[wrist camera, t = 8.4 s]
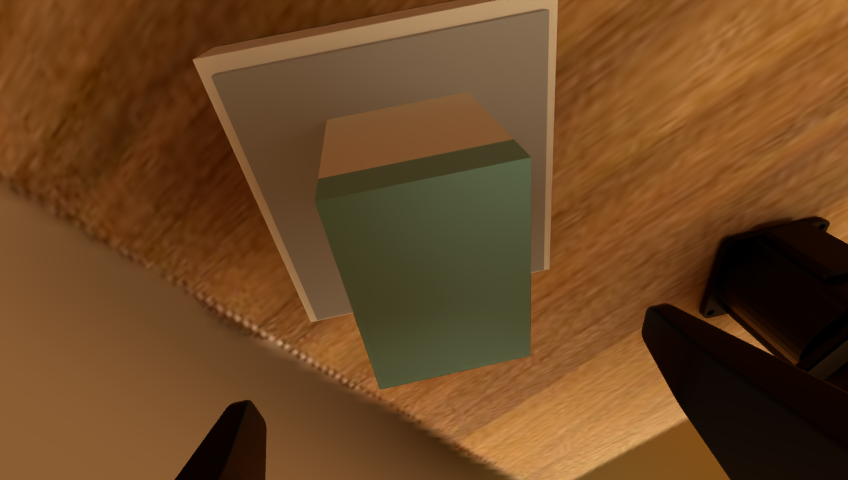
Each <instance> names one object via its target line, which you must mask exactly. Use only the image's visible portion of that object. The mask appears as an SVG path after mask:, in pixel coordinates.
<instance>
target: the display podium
mask: <svg viewBox="0 0 848 480" xmlns="http://www.w3.org/2000/svg"><path fill="white" fill-rule="evenodd" d="M557 9H558V0H455V1H450V2H444V3H439V4H434V5H429V6H424V7H419V8H414V9H408V10H403V11H398V12H393V13H388V14H383V15H378V16H372V17H367V18H362V19H357V20H352V21H347V22H342V23H336V24H331V25H326V26H321V27H316V28H311V29H306V30H300V31H295V32H290V33H285V34H280V35H275V36H269V37H264V38H259V39H254V40H249V41H244V42H239V43H233V44H228V45H223V46H218V47H214V48H212V49H210V50H208V51H207V52H205V53H203V54H201V55H200V56H198V57H196V58H194V59H193V62H194V64H195V67H196V69H197V71H198V73H199V76H200V78H201V80H202V82H203V84H204V87H205V89H206V91H207V93H208V95H209V98H210V100H211V102H212V104H213V107H214V109H215V111H216V113H217V115H218V118H219V120H220V122H221V124H222V126H223V129H224V131H225V133H226V135H227V138H228V140H229V142H230V144H231V146H232V149H233V151H234V153H235V155H236V157H237V160H238V162H239V164H240V166H241V169H242V171H243V173H244V175H245V177H246V180H247V182H248V184H249V186H250V188H251V191H252V193H253V195H254V197H255V200H256V202H257V204H258V206H259V208H260V211H261V213H262V215H263V217H264V219H265V222H266V224H267V226H268V228H269V231H270V233H271V235H272V237H273V239H274V242H275V244H276V246H277V248H278V250H279V253H280V255H281V257H282V259H283V262H284V264H285V266H286V268H287V270H288V273H289V275H290V277H291V279H292V282H293V284H294V286H295V288H296V290H297V293H298V295H299V297H300V299H301V301H302V304H303V306H304V308H305V310H306V313H307V315H308V317H309V319H310V321H311V322H315V321H319V320H324V319H328V318H333V317H337V316H342V315H346V314H351V313H353V311H352V308H351V305H350V302H349V299H348V296H347V293H346V290H345V288H344V285H343V282H342V279H341V276H340V273H339V270H338V267H337V265H336V262H335V259H334V256H333V253H332V250H331V247H330V244H329V242H328V239H327V236H326V233H325V230H324V227H323V224H322V222H321V219H320V216H319V213H318V210H317V207H316V204H315V196H316V189H317V182H318V176H319V169H320V162H321V156H322V149H323V142H324V135H325V129H326V122H327V120H328V119H333V118H338V117H343V116H348V115H353V114H358V113H364V112H369V111H374V110H379V109H384V108H389V107H394V106H399V105H404V104H409V103H414V102H419V101H425V100H430V99H435V98H440V97H445V96H450V95H455V94H460V93H465V92H468V93H469V94H470V95H471V96H472V97H473V98H474V99H475V100H476V101H477V102H478V103H479V104H480V105H481V106H482V107H483V108H484V109H485V110H486V111H487V112H488V113H489V114H490V115H491V116H492V117H493V118H494V119H495V120H496V121H497V122H498V123H499V125H500V126H501V127H502V128H503V129H504V130H505V131H506V132H507V133H508V134H509V135H510V136H511V137H512V138H513V139H514V140H515V141H516V142H517V143H518V144H519V145H520V146H521V147H522V148H523V149H524V150H525V151H526V152H527V153H528V154H529V155H530V156H531V273H534V272H539V271H543V270H548V269H549V266H550V234H551V202H552V170H553V138H554V106H555V73H556V41H557Z"/></svg>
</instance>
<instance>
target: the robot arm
mask: <svg viewBox="0 0 848 480" xmlns="http://www.w3.org/2000/svg"><path fill="white" fill-rule="evenodd" d="M829 224H830V223H829V221H827V220H825V219H823V218H821V217H817V218H813V219H808V220H804V221H799V222H795V223H790V224H786V225H781V226H777V227H772V228H768V229H764V230H759V231H755V232H750V233H746V234H741V235H737V236H732V237H729V238H727V239H726V240H724V242H723V243H722V244H721V247H720V250H719V253H718V256H717V259H716V262H715V265H714V268H713V271H712V274H711V277H710V280H709V283H708V286H707V289H706V292H705V295H704V298H703V301H702V304H701V307H700V310H699V312H700V314H701V315H703V316H704V317H705V318H710V317H715V316H719V315H723V314H729V315H730V316H731V317H732V318H733V319H734V320H735V321H736V322H738V323H739V324H740V325H741V326H742V327H743V328H744V329H745V330H746V331H747V332H749V333H750V334H751V335H752V336H753V337H754V338H755V339H756V340H757V341H758V342H760V343H761V344H762V345H763V346H764V347H765V348H766V349H767V350H768V351H769V352H771V353H772V354H773V355H774V356H773V355H771V354H769V353H767V352H765V351H763V350H761V349H759V348H757V347H755V346H753V345H751V344H749V343H747V342H745V341H743V340H741V339H739V338H737V337H735V336H733V335H731V334H729V333H727V332H725V331H723V330H721V329H719V328H717V327H715V326H713V325H711V324H709V323H707V322H705V321H703V320H701V319H699V318H697V317H695V316H693V315H691V314H689V313H687V312H685V311H683V310H681V309H679V308H677V307H675V306H673V305H670V304H667V303H663V304H658V305H654V306H650V307H649V308H648V309H647V310H646V314H645V319H644V323H643V327H642V337H643V340H644V342H645V344H646V346H647V348H648V350H649V351H650V353H651V355H652V357H653V359H654V360H655V362H656V364H657V366H658V368H659V370H660V371H661V373H662V375H663V377H664V379H665V381H666V382H667V384H668V386H669V388H670V390H671V392H672V393H673V395H674V397H675V398H676V400H677V402H678V403H679V405H680V407H681V408H682V410H683V411H684V413H685V414H686V416H687V417H688V418H689V420H690V421H691V423H692V424H693V426H694V427H695V429H696V430H697V432H698V433H699V435H700V436H701V437H702V439H703V440H704V442H705V443H706V445H707V446H708V448H709V449H710V451H711V452H712V453H713V455H714V456H715V458H716V459H717V461H718V462H719V464H720V465H721V467H722V468H723V470H724V471H725V472H726V474H727V475H728V477H729V478H730V480H848V244H847V243H845V242H843V241H841V240H839V239H837V238H836V237H834V236H832V235H830V234H828V233H827V232H826V231H827V229H828V227H829ZM266 432H267V431H266V423H265V420H264V418H263V417H262V415H261V414H260V412H259V411H258V410H257V408H256V407H255V405H254V404H253V403H252V401H250V400H244V401H239V402H235V403H232V404H230V405H229V406H228V407H227V408H226V410H225V411H224V412H223V414H222V415H221V417H220V418H219V419H218V421H217V422H216V423H215V425H214V426H213V427H212V429H211V430H210V432H209V433H208V434H207V436H206V437H205V439H204V440H203V441H202V443H201V444H200V446H199V447H198V448H197V450H196V451H195V452H194V454H193V455H192V456H191V458H190V459H189V461H188V462H187V463H186V465H185V466H184V467H183V469H182V470H181V472H180V473H179V474H178V476H177V477H176V478H175V480H265V472H266Z"/></svg>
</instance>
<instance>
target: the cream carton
mask: <svg viewBox="0 0 848 480" xmlns="http://www.w3.org/2000/svg"><path fill="white" fill-rule="evenodd" d="M315 204H316V207H317V210H318V213H319V216H320V219H321V222H322V224H323V227H324V230H325V233H326V236H327V239H328V242H329V244H330V247H331V250H332V253H333V256H334V259H335V262H336V265H337V267H338V270H339V273H340V276H341V279H342V282H343V285H344V288H345V290H346V293H347V296H348V299H349V302H350V305H351V308H352V311H353V313H354V316H355V319H356V322H357V325H358V328H359V331H360V333H361V336H362V339H363V342H364V345H365V348H366V351H367V354H368V356H369V359H370V362H371V365H372V368H373V371H374V374H375V377H376V379H377V382H378V385H379V388H380V390H381V389H386V388H390V387H394V386H399V385H403V384H408V383H412V382H416V381H421V380H425V379H430V378H434V377H439V376H443V375H447V374H452V373H456V372H461V371H465V370H469V369H474V368H478V367H483V366H487V365H491V364H496V363H500V362H505V361H509V360H513V359H518V358H522V357H527V356H530V331H531V156H530V155H529V154H528V153H527V152H526V151H525V150H524V149H523V148H522V147H521V146H520V145H519V144H518V143H517V142H516V141H515V140H514V139H513V138H512V137H511V136H510V135H509V134H508V133H507V132H506V131H505V130H504V129H503V128H502V127H501V126H500V125H499V123H498V122H497V121H496V120H495V119H494V118H493V117H492V116H491V115H490V114H489V113H488V112H487V111H486V110H485V109H484V108H483V107H482V106H481V105H480V104H479V103H478V102H477V101H476V100H475V99H474V98H473V97H472V96H471V95H470V94H469V93H468V92H465V93H460V94H455V95H450V96H445V97H440V98H435V99H430V100H425V101H419V102H414V103H409V104H404V105H399V106H394V107H389V108H384V109H379V110H374V111H369V112H364V113H358V114H353V115H348V116H343V117H338V118H333V119H328V120H327V122H326V129H325V135H324V142H323V149H322V156H321V162H320V169H319V176H318V182H317V189H316V196H315Z"/></svg>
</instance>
